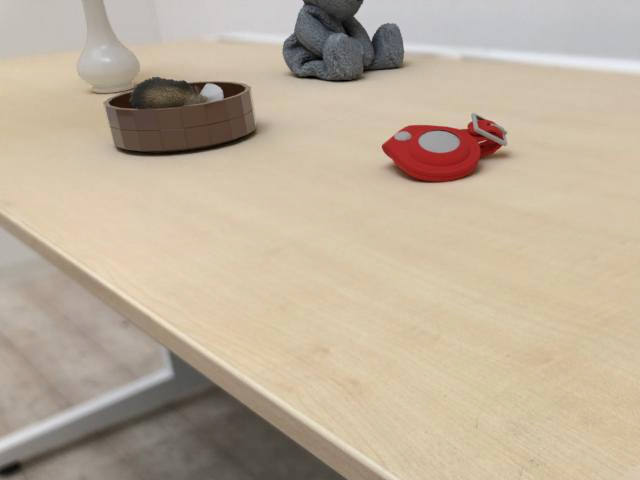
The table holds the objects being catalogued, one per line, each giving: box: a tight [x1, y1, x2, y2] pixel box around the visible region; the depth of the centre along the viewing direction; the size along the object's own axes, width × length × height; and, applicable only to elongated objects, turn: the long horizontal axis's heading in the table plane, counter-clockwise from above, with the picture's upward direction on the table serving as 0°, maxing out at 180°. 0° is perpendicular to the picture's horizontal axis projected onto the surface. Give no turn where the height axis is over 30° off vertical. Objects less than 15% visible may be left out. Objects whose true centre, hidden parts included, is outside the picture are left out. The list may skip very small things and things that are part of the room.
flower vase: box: [76, 0, 141, 94], centre depth 121 cm, size 13×18×25 cm
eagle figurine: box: [129, 76, 224, 109], centre depth 92 cm, size 8×7×9 cm
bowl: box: [102, 80, 258, 153], centre depth 93 cm, size 16×16×5 cm
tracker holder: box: [381, 112, 508, 183], centre depth 77 cm, size 12×4×10 cm
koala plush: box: [281, 0, 405, 81], centre depth 126 cm, size 17×18×20 cm
